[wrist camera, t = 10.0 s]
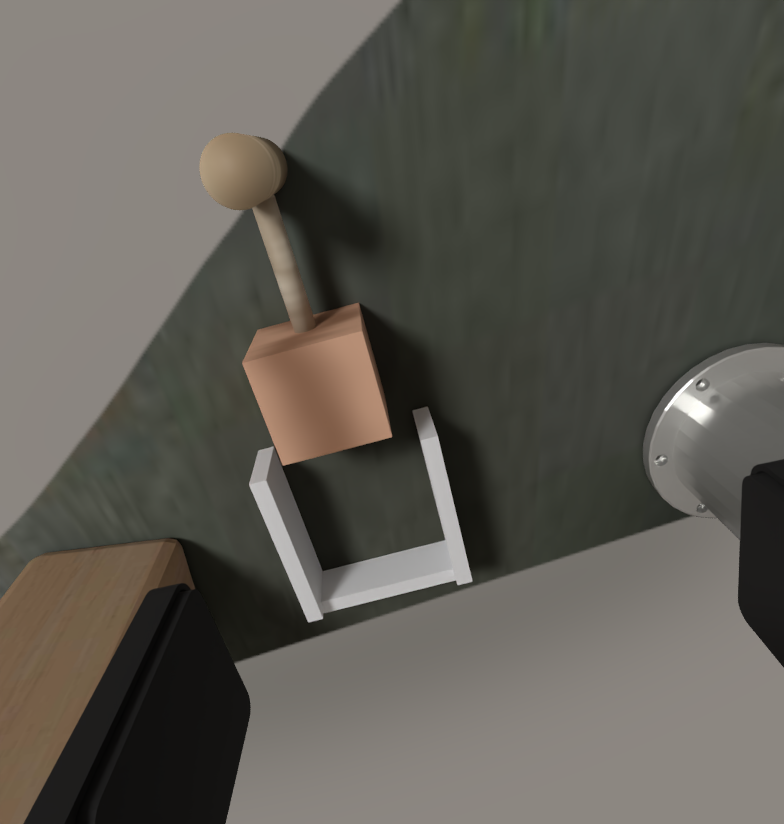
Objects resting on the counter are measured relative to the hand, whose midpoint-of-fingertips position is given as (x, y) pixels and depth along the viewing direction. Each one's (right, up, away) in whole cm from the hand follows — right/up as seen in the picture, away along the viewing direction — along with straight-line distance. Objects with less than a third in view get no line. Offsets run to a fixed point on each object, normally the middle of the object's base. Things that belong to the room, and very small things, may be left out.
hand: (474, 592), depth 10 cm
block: (-7, +10, +21) cm, 24 cm away
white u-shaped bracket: (-3, -4, +28) cm, 28 cm away
